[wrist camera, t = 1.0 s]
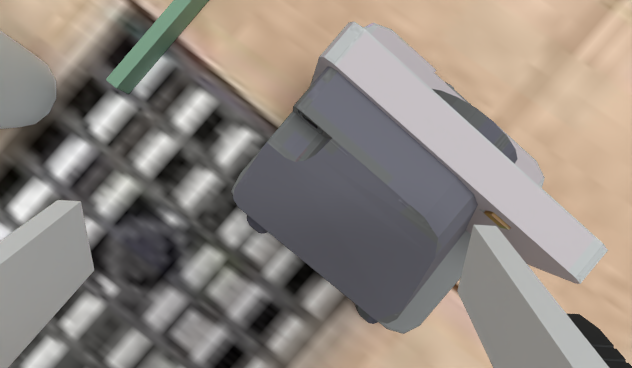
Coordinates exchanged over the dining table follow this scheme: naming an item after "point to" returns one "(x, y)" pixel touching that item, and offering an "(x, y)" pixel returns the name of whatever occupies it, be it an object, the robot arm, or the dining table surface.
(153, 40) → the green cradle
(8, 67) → the foam cup
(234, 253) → the dining table surface
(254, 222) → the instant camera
